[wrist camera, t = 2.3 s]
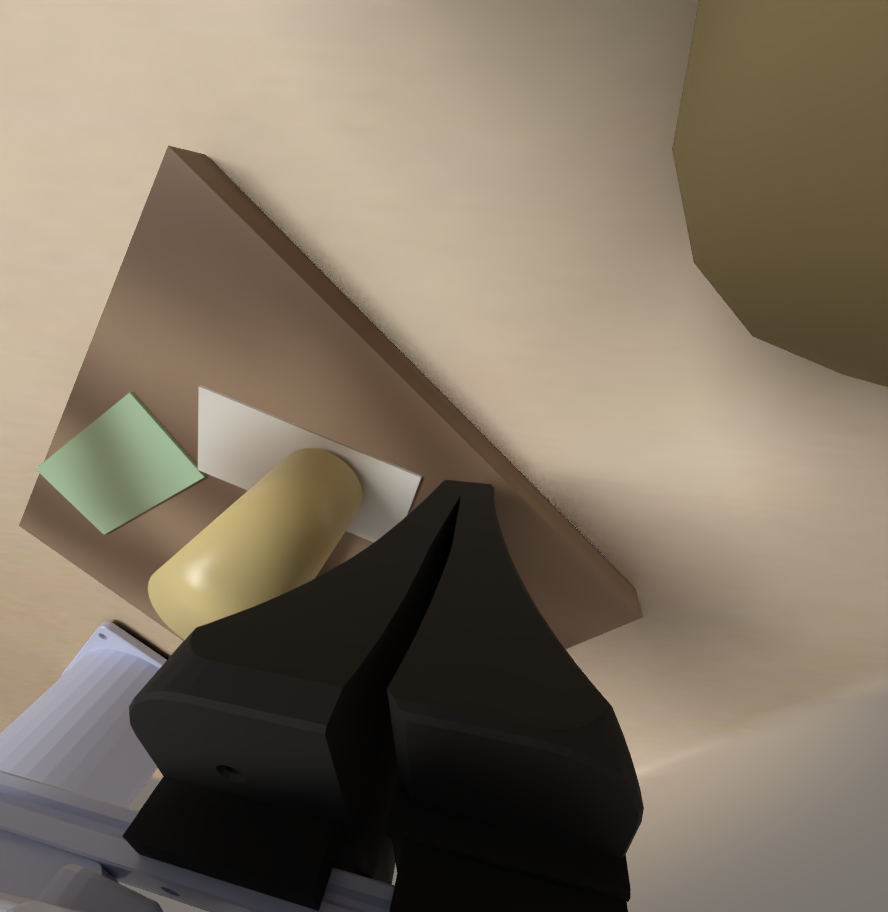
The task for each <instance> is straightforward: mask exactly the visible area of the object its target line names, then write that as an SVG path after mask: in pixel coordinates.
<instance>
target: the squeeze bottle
mask: <svg viewBox="0 0 888 912" xmlns="http://www.w3.org/2000/svg"><path fill="white" fill-rule="evenodd" d="M672 150H673V155H674V160H675V165H676V171H677V176H678V181H679V186H680V192H681V197H682V202H683V207H684V213H685V218H686V223H687V228H688V234H689V239H690V244H691V249H692V255H693V260H694V263H695V264H696V266H697V267H698V268H699V269H700V271H701V272H702V273H703V274H704V276H705V277H706V278H707V279H708V281H709V282H710V283H711V284H712V286H713V287H714V288H715V289H716V291H717V292H718V293H719V295H720V296H721V297H722V298H723V300H724V301H725V302H726V303H727V305H728V306H729V307H730V308H731V310H732V311H733V312H734V313H735V315H736V316H737V317H738V318H739V320H740V321H741V322H742V323H743V325H744V326H745V327H746V328H747V330H748V331H749V332H750V333H751V335H752V336H754V337H756V338H758V339H761V340H763V341H765V342H768V343H770V344H773V345H775V346H777V347H780V348H782V349H784V350H787V351H789V352H791V353H794V354H796V355H799V356H801V357H803V358H806V359H808V360H810V361H813V362H815V363H817V364H820V365H822V366H825V367H827V368H829V369H832V370H834V371H836V372H839V373H841V374H844V375H848V376H851V377H855V378H858V379H862V380H865V381H869V382H872V383H876V384H879V385H883V386H887V387H888V0H699V5H698V11H697V16H696V22H695V27H694V33H693V38H692V44H691V49H690V55H689V60H688V66H687V72H686V77H685V83H684V88H683V94H682V99H681V105H680V110H679V116H678V122H677V127H676V133H675V138H674V144H673V149H672Z"/></svg>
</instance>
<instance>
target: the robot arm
mask: <svg viewBox="0 0 888 912" xmlns="http://www.w3.org/2000/svg"><path fill="white" fill-rule="evenodd" d="M494 489H495V488H494V487H493V486H492V485H491V484H485V483H475V482H464V481H454V480H444V481H443V482H442V483H441V484H440V485H439V486H438V487H437V488H436V489H435V490H434V491H433V492H432V493H431V494H430V495H429V496H428V497H426V498H425V499H424V500H423V501H422V502H421V503H420V504H419V505H418V506H417V507H416V508H415V509H414V510H413V511H412V512H410V513H409V514H408V515H407V516H406V517H405V518H404V519H403V520H402V521H400V522H399V523H398V524H397V525H396V526H394V527H393V528H392V529H391V530H389V531H388V532H387V533H386V534H384V535H383V536H382V537H381V538H379V539H378V540H377V541H375V542H374V543H373V544H371V545H370V546H368V547H367V548H366V549H364V550H363V551H361V552H360V553H358V554H356V555H355V556H353V557H352V558H350V559H349V560H347V561H345V562H344V563H342V564H340V565H339V566H337V567H335V568H333V569H331V570H329V571H328V572H326V573H324V574H322V575H320V576H319V577H317V578H315V579H313V580H311V581H309V582H307V583H305V584H303V585H301V586H299V587H297V588H295V589H293V590H291V591H289V592H287V593H284V594H282V595H280V596H277V597H275V598H273V599H271V600H268V601H266V602H264V603H261V604H259V605H256V606H254V607H252V608H249V609H246V610H243V611H241V612H238V613H235V614H233V615H230V616H227V617H224V618H222V619H219V620H216V621H214V622H211V623H208V624H205V625H202V626H199V627H196V628H195V629H194V631H193V632H192V633H191V634H190V635H189V636H188V637H187V638H186V639H185V640H184V641H183V643H182V644H181V645H180V646H179V647H178V648H177V649H176V650H175V652H174V653H173V654H172V655H171V656H170V657H169V658H168V660H166V659H165V658H164V657H162V656H161V655H159V654H158V653H156V652H155V651H153V650H152V649H150V648H149V647H147V646H146V645H145V644H143V643H142V642H140V641H139V640H137V639H136V638H134V637H133V636H131V635H130V634H128V633H127V632H125V631H124V630H123V629H121V628H120V627H118V626H117V625H115V624H114V623H112V622H107V621H106V622H103V623H102V624H101V625H100V626H99V627H98V628H97V629H96V631H95V632H94V633H93V635H92V636H91V637H90V638H89V640H88V641H87V642H86V644H85V645H84V646H83V648H82V649H81V650H80V651H79V653H78V654H77V655H76V657H75V658H74V659H73V660H72V662H71V663H70V664H69V666H68V667H67V668H66V670H65V671H64V672H63V673H62V675H61V678H60V679H59V680H58V681H57V682H55V683H54V684H53V685H52V686H51V687H50V688H49V689H48V690H47V691H46V692H45V693H44V694H42V695H41V696H40V697H39V698H38V699H37V700H36V701H35V702H34V703H33V704H32V705H31V706H30V707H28V708H27V709H26V710H25V711H24V712H23V713H22V714H21V715H20V716H19V717H18V718H17V719H15V720H14V721H13V722H12V723H11V724H10V725H9V726H8V727H7V728H6V729H5V730H4V731H2V732H1V733H0V912H163V910H162V909H161V907H160V905H159V904H158V903H157V902H155V901H153V900H151V899H149V898H147V897H145V896H143V895H141V894H139V893H137V892H135V891H133V890H131V889H128V888H127V887H125V886H123V885H120V884H119V883H118V881H119V882H122V883H125V884H128V885H131V886H134V887H137V888H140V889H143V890H146V891H149V892H152V893H155V894H158V895H161V896H164V897H167V898H170V899H173V900H176V901H179V902H182V903H185V904H188V905H191V906H194V907H197V908H200V909H203V910H206V911H209V912H628V909H627V902H628V901H629V899H630V883H629V876H628V869H627V861H626V852H627V850H628V848H629V846H630V844H631V842H632V840H633V838H634V836H635V834H636V832H637V830H638V827H639V826H640V824H641V821H642V815H643V809H644V807H643V802H642V797H641V791H640V787H639V783H638V779H637V775H636V772H635V769H634V765H633V762H632V758H631V755H630V752H629V749H628V747H627V744H626V741H625V738H624V735H623V733H622V730H621V728H620V725H619V723H618V720H617V718H616V715H615V713H614V710H613V708H612V706H611V705H610V704H609V702H608V701H607V700H606V699H605V698H604V697H603V696H602V694H601V693H600V692H599V691H598V690H597V689H596V687H595V686H594V685H593V684H592V683H591V681H590V680H589V679H588V678H587V676H586V675H585V674H584V673H583V672H582V670H581V669H580V668H579V667H578V665H577V664H576V663H575V662H574V660H573V659H572V658H571V656H570V655H569V654H568V652H567V651H566V650H565V648H564V647H563V646H562V644H561V643H560V642H559V640H558V639H557V637H556V636H555V634H554V633H553V631H552V630H551V628H550V627H549V625H548V624H547V622H546V621H545V619H544V618H543V616H542V614H541V613H540V611H539V610H538V608H537V607H536V605H535V603H534V602H533V600H532V598H531V596H530V595H529V593H528V591H527V589H526V588H525V586H524V584H523V582H522V580H521V578H520V576H519V574H518V572H517V570H516V568H515V565H514V563H513V561H512V559H511V556H510V554H509V551H508V549H507V546H506V544H505V541H504V538H503V535H502V532H501V529H500V525H499V522H498V518H497V514H496V509H495V504H494ZM157 768H158V769H159V770H160V772H161V773H162V774H163V776H164V777H163V778H162V779H161V781H160V782H159V784H158V785H157V787H156V788H155V790H154V791H153V792H152V794H151V795H150V797H149V798H148V800H147V801H146V803H145V804H144V805H143V807H142V808H141V810H140V811H138V810H134V809H131V808H129V807H130V805H131V804H132V802H133V801H134V800H135V798H136V797H137V795H138V794H139V793H140V791H141V790H142V788H143V787H144V786H145V784H146V783H147V781H148V780H149V779H150V777H151V776H152V775H153V773H154V772H155V770H156V769H157ZM395 862H396V868H397V878H396V883H395V886H394V885H392V879H393V873H394V867H395ZM626 901H627V902H626Z"/></svg>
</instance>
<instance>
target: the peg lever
mask: <svg viewBox="0 0 888 912" xmlns="http://www.w3.org/2000/svg"><path fill="white" fill-rule="evenodd" d="M362 501H363V492H362V487H361V484H360V482H359V479H358V477H357V476H356V474H355V473H354V471H353V470H352V469H351V468H350V467H349V466H348V464H346V463H345V462H344V461H343V460H342V459H340V458H339V457H337V456H335V455H334V454H332V453H329V452H327V451H324V450H321V449H316V448H304V449H299V450H296V451H294V452H292V453H290V454H289V455H288V456H287V457H286V458H285V459H283V460H282V461H281V462H280V463H279V464H278V465H277V466H275V467H274V468H273V469H272V470H271V471H270V472H269V473H267V474H266V475H265V476H264V477H263V478H262V479H261V480H259V481H258V482H257V483H256V484H255V485H254V486H253V487H251V488H250V489H249V490H248V491H247V492H246V493H245V494H243V495H242V496H241V497H240V498H239V499H238V500H237V501H236V502H234V503H233V504H232V505H231V506H230V507H229V508H228V509H226V510H225V511H224V512H223V513H222V514H221V515H220V516H218V517H217V518H216V519H215V520H214V521H213V522H212V523H210V524H209V525H208V526H207V527H206V528H205V529H204V530H202V531H201V532H200V533H199V534H198V535H197V536H196V537H194V538H193V539H192V540H191V541H190V542H189V543H188V544H186V545H185V546H184V547H183V548H182V549H181V550H180V551H178V552H177V553H176V554H175V555H174V556H173V557H172V558H171V559H169V560H168V561H167V562H166V563H165V564H164V565H163V566H161V567H160V568H159V569H158V570H157V571H156V572H155V573H153V575H152V576H151V577H150V580H149V583H148V594H149V598H150V601H151V603H152V605H153V607H154V609H155V611H156V612H157V614H158V615H159V617H160V618H161V619H162V620H163V622H164V623H165V624H166V625H167V626H168V627H169V628H170V629H171V630H172V631H173V632H175V633H176V634H177V635H178V636H180V637H181V638H182V639H184V640H185V639H186V638H187V637H188V636H189V635H190V634H191V633H192V632H193V631H194V629H195V628H196V627H199V626H202V625H205V624H208V623H211V622H214V621H216V620H219V619H222V618H224V617H227V616H230V615H233V614H235V613H238V612H241V611H243V610H246V609H249V608H252V607H254V606H256V605H259V604H261V603H264V602H266V601H268V600H271V599H273V598H275V597H277V596H280V595H282V594H284V593H287V592H289V591H291V590H293V589H295V588H297V587H299V586H301V585H303V584H305V583H307V582H309V581H311V580H313V579H315V577H316V576H317V574H318V573H319V571H320V570H321V568H322V567H323V565H324V564H325V562H326V561H327V559H328V557H329V556H330V554H331V553H332V551H333V550H334V548H335V547H336V545H337V544H338V542H339V541H340V539H341V538H342V536H343V535H344V533H345V531H346V530H347V528H348V527H349V525H350V524H351V522H352V521H353V519H354V518H355V516H356V515H357V513H358V512H359V510H360V508H361V505H362Z"/></svg>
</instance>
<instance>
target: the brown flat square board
mask: <svg viewBox="0 0 888 912" xmlns="http://www.w3.org/2000/svg"><path fill="white" fill-rule="evenodd" d="M304 448H316V449H321V450H324V451H327V452H329V453H332V454H334V455H335V456H337V457H339V458H340V459H342V460H343V461H344V462H345V463H346V464H348V466H349V467H350V468H351V469H352V470H353V471H354V473H355V474H356V476H357V477H358V479H359V482H360V484H361V487H362V492H363V501H362V505H361V508H360V510H359V512H358V513H357V515H356V516H355V518H354V519H353V521H352V522H351V524H350V525H349V527H348V528H347V530H346V531H345V533H344V535H343V536H342V538H341V539H340V541H339V542H338V544H337V545H336V547H335V548H334V550H333V551H332V553H331V554H330V556H329V557H328V559H327V561H326V562H325V564H324V565H323V567H322V568H321V570H320V571H319V573H318V574H317V576H316V577H315V578H317V577H319V576H320V575H322V574H324V573H326V572H328V571H329V570H331V569H333V568H335V567H337V566H339V565H340V564H342V563H344V562H345V561H347V560H349V559H350V558H352V557H353V556H355V555H356V554H358V553H360V552H361V551H363V550H364V549H366V548H367V547H368V546H370V545H371V544H373V543H374V542H375V541H377V540H378V539H379V538H381V537H382V536H383V535H384V534H386V533H387V532H388V531H389V530H391V529H392V528H393V527H394V526H396V525H397V524H398V523H399V522H400V521H402V520H403V519H404V518H405V517H406V516H407V515H408V514H409V513H410V512H412V511H413V510H414V509H415V508H416V507H417V506H418V505H419V504H420V503H421V502H422V501H423V500H424V499H425V498H426V497H428V496H429V495H430V494H431V493H432V492H433V491H434V490H435V489H436V488H437V487H438V486H439V485H440V484H441V483H442V482H443V481H444V480H454V481H464V482H475V483H485V484H491V485H492V486H493V487H494V488H495V489H494V504H495V509H496V514H497V518H498V522H499V525H500V529H501V532H502V535H503V538H504V541H505V544H506V546H507V549H508V551H509V554H510V556H511V559H512V561H513V563H514V565H515V568H516V570H517V572H518V574H519V576H520V578H521V580H522V582H523V584H524V586H525V588H526V589H527V591H528V593H529V595H530V596H531V598H532V600H533V602H534V603H535V605H536V607H537V608H538V610H539V611H540V613H541V614H542V616H543V618H544V619H545V621H546V622H547V624H548V625H549V627H550V628H551V630H552V631H553V633H554V634H555V636H556V637H557V639H558V640H559V642H560V643H561V644H562V646H563V647H564V648H565V649H567V648H569V647H571V646H574V645H576V644H579V643H581V642H583V641H586V640H588V639H591V638H593V637H596V636H598V635H600V634H603V633H605V632H608V631H610V630H613V629H615V628H617V627H620V626H622V625H625V624H627V623H629V622H632V621H634V620H637V619H639V618H642V617H643V616H642V613H641V609H640V605H639V602H638V598H637V594H636V591H635V588H634V587H633V586H632V585H631V584H630V583H629V582H628V581H627V580H626V579H625V578H624V577H623V576H622V575H621V574H620V573H619V572H618V571H617V570H616V569H615V568H614V567H613V566H612V565H611V564H610V563H609V562H608V561H607V560H606V559H605V558H604V557H603V556H602V555H601V554H600V553H599V552H598V551H597V550H596V549H595V548H594V547H593V546H592V545H591V544H590V543H589V542H588V541H587V540H586V539H585V538H584V537H583V536H582V535H581V534H580V533H579V532H578V531H577V530H576V529H575V528H574V527H573V526H572V525H571V524H570V523H569V522H568V521H567V520H566V519H565V518H564V517H563V516H562V515H561V514H560V513H559V512H558V510H557V509H556V508H555V507H554V506H553V505H552V504H551V503H550V502H549V501H548V500H547V499H546V498H545V497H544V496H543V495H542V494H541V493H540V492H539V491H538V490H537V489H536V488H535V487H534V486H533V485H532V484H531V483H530V482H529V481H528V480H527V479H526V478H525V477H524V476H523V475H522V474H521V473H520V472H519V471H518V470H517V469H516V468H515V467H514V466H513V465H512V464H511V463H510V462H509V461H508V460H507V459H506V458H505V457H504V456H503V455H502V454H501V453H500V452H499V451H498V450H497V449H496V448H495V447H494V446H493V445H492V444H491V443H490V442H489V441H488V440H487V439H486V438H485V437H484V436H483V435H482V434H481V433H480V432H479V431H478V430H477V429H476V428H475V427H474V426H473V425H472V424H471V423H470V422H469V421H468V420H467V418H466V417H465V416H464V415H463V414H462V413H461V412H460V411H459V410H458V409H457V408H456V407H455V406H454V405H453V404H452V403H451V402H450V401H449V400H448V399H447V398H446V397H445V396H444V395H443V394H442V393H441V392H440V391H439V390H438V389H437V388H436V387H435V386H434V385H433V384H432V383H431V382H430V381H429V380H428V379H427V378H426V377H425V376H424V375H423V374H422V373H421V372H420V371H419V370H418V369H417V368H416V367H415V366H414V365H413V364H412V363H411V362H410V361H409V360H408V359H407V358H406V357H405V356H404V355H403V354H402V353H401V352H400V351H399V350H398V349H397V348H396V347H395V346H394V345H393V344H392V343H391V342H390V341H389V340H388V339H387V338H386V337H385V336H384V335H383V334H382V333H381V332H380V331H379V330H378V329H377V328H376V327H375V325H374V324H373V323H372V322H371V321H370V320H369V319H368V318H367V317H366V316H365V315H364V314H363V313H362V312H361V311H360V310H359V309H358V308H357V307H356V306H355V305H354V304H353V303H352V302H351V301H350V300H349V299H348V298H347V297H346V296H345V295H344V294H343V293H342V292H341V291H340V290H339V289H338V288H337V287H336V286H335V285H334V284H333V283H332V282H331V281H330V280H329V279H328V278H327V277H326V276H325V275H324V274H323V273H322V272H321V271H320V270H319V269H318V268H317V267H316V266H315V265H314V264H313V263H312V262H311V261H310V260H309V259H308V258H307V257H306V256H305V255H304V254H303V253H302V252H301V251H300V250H299V249H298V248H297V247H296V246H295V245H294V244H293V243H292V242H291V241H290V240H289V239H288V238H287V237H286V236H285V235H284V234H283V232H282V231H281V230H280V229H279V228H278V227H277V226H276V225H275V224H274V223H273V222H272V221H271V220H270V219H269V218H268V217H267V216H266V215H265V214H264V213H263V212H262V211H261V210H260V209H259V208H258V207H257V206H256V205H255V204H254V203H253V202H252V201H251V200H250V199H249V198H248V197H247V196H246V195H245V194H244V193H243V192H242V191H241V190H240V189H239V188H238V187H237V186H236V185H235V184H234V183H233V182H232V181H231V180H230V179H229V178H228V177H227V176H226V175H225V174H224V173H223V172H222V171H221V170H220V169H219V168H218V167H217V166H216V165H215V164H214V163H213V162H212V161H211V160H210V159H209V158H208V157H207V156H206V155H205V154H201V153H196V152H192V151H188V150H184V149H180V148H176V147H172V146H168V148H167V150H166V153H165V155H164V158H163V160H162V163H161V166H160V168H159V171H158V173H157V176H156V178H155V181H154V183H153V186H152V188H151V191H150V194H149V196H148V199H147V201H146V204H145V206H144V209H143V211H142V214H141V216H140V219H139V222H138V224H137V227H136V229H135V232H134V234H133V237H132V239H131V242H130V244H129V247H128V250H127V252H126V255H125V257H124V260H123V262H122V265H121V267H120V270H119V272H118V275H117V278H116V280H115V283H114V285H113V288H112V290H111V293H110V295H109V298H108V300H107V303H106V306H105V308H104V311H103V313H102V316H101V318H100V321H99V323H98V326H97V328H96V331H95V334H94V336H93V339H92V341H91V344H90V346H89V349H88V351H87V354H86V356H85V359H84V362H83V364H82V367H81V369H80V372H79V374H78V377H77V379H76V382H75V384H74V387H73V390H72V392H71V395H70V397H69V400H68V402H67V405H66V407H65V410H64V412H63V415H62V418H61V420H60V423H59V425H58V428H57V430H56V433H55V435H54V438H53V440H52V443H51V446H50V448H49V451H48V453H47V456H46V458H45V461H44V462H43V463H42V464H41V465H40V466H38V467H37V468H36V470H37V471H38V472H39V473H40V474H39V476H38V479H37V481H36V484H35V486H34V489H33V491H32V494H31V496H30V499H29V502H28V504H27V507H26V509H25V512H24V514H23V517H22V519H21V522H20V524H19V526H20V527H22V528H23V529H25V530H26V531H27V532H29V533H30V534H32V535H33V536H35V537H36V538H37V539H39V540H40V541H42V542H43V543H44V544H46V545H47V546H49V547H50V548H52V549H53V550H54V551H56V552H57V553H59V554H60V555H62V556H63V557H64V558H66V559H67V560H69V561H70V562H72V563H73V564H74V565H76V566H77V567H79V568H80V569H82V570H83V571H84V572H86V573H87V574H89V575H90V576H92V577H93V578H94V579H96V580H97V581H99V582H100V583H102V584H103V585H104V586H106V587H107V588H109V589H110V590H112V591H113V592H114V593H116V594H117V595H119V596H120V597H122V598H123V599H124V600H126V601H127V602H129V603H130V604H132V605H133V606H134V607H136V608H137V609H139V610H140V611H142V612H143V613H144V614H146V615H147V616H149V617H150V618H152V619H153V620H154V621H156V622H157V623H159V624H160V625H161V626H163V627H164V628H166V629H167V630H169V631H170V632H171V633H173V634H174V635H176V636H177V637H179V638H180V639H181V640H183V641H184V639H182V638H181V637H180V636H178V635H177V634H176V633H175V632H173V631H172V630H171V629H170V628H169V627H168V626H167V625H166V624H165V623H164V622H163V620H162V619H161V618H160V617H159V615H158V614H157V612H156V611H155V609H154V607H153V605H152V603H151V601H150V598H149V594H148V583H149V580H150V577H151V576H152V575H153V573H155V572H156V571H157V570H158V569H159V568H160V567H161V566H163V565H164V564H165V563H166V562H167V561H168V560H169V559H171V558H172V557H173V556H174V555H175V554H176V553H177V552H178V551H180V550H181V549H182V548H183V547H184V546H185V545H186V544H188V543H189V542H190V541H191V540H192V539H193V538H194V537H196V536H197V535H198V534H199V533H200V532H201V531H202V530H204V529H205V528H206V527H207V526H208V525H209V524H210V523H212V522H213V521H214V520H215V519H216V518H217V517H218V516H220V515H221V514H222V513H223V512H224V511H225V510H226V509H228V508H229V507H230V506H231V505H232V504H233V503H234V502H236V501H237V500H238V499H239V498H240V497H241V496H242V495H243V494H245V493H246V492H247V491H248V490H249V489H250V488H251V487H253V486H254V485H255V484H256V483H257V482H258V481H259V480H261V479H262V478H263V477H264V476H265V475H266V474H267V473H269V472H270V471H271V470H272V469H273V468H274V467H275V466H277V465H278V464H279V463H280V462H281V461H282V460H283V459H285V458H286V457H287V456H288V455H289V454H290V453H292V452H294V451H296V450H299V449H304Z"/></svg>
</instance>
